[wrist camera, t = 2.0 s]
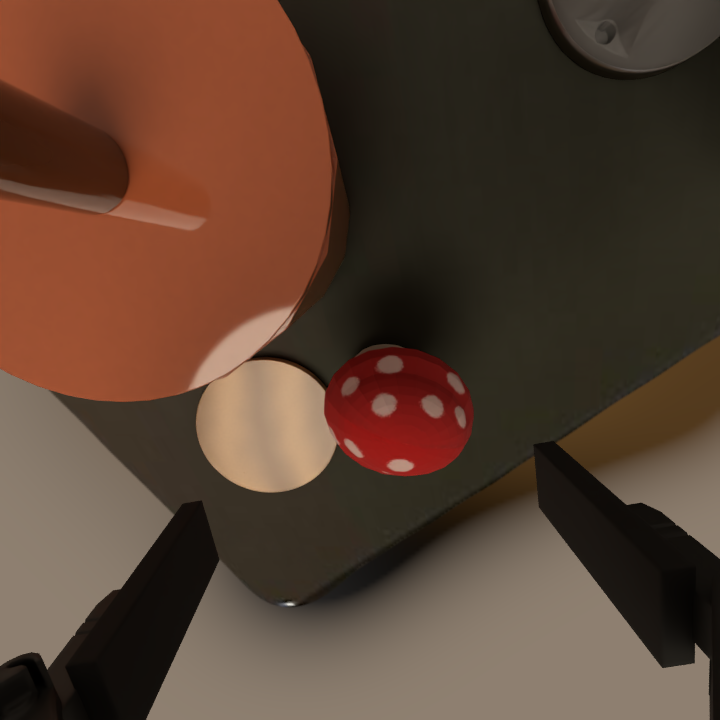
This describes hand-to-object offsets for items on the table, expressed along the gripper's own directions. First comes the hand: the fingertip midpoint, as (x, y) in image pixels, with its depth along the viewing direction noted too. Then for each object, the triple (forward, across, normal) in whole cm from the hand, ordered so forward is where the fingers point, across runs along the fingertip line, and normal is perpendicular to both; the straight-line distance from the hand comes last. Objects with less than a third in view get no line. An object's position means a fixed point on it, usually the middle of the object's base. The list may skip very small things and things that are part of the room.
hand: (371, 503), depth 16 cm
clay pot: (+21, -8, +14) cm, 27 cm away
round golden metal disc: (+21, -9, -4) cm, 24 cm away
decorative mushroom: (+21, +2, -1) cm, 21 cm away
